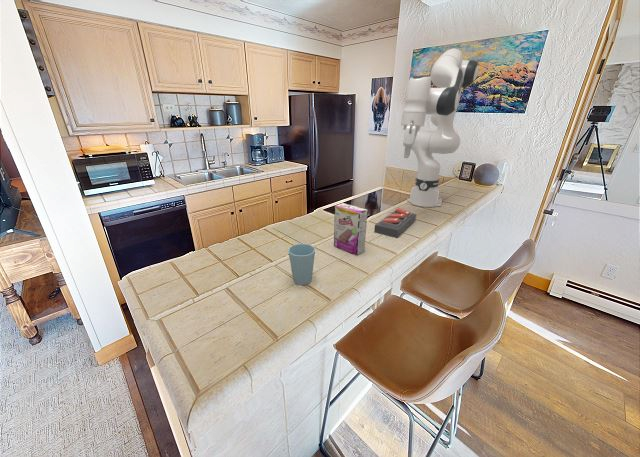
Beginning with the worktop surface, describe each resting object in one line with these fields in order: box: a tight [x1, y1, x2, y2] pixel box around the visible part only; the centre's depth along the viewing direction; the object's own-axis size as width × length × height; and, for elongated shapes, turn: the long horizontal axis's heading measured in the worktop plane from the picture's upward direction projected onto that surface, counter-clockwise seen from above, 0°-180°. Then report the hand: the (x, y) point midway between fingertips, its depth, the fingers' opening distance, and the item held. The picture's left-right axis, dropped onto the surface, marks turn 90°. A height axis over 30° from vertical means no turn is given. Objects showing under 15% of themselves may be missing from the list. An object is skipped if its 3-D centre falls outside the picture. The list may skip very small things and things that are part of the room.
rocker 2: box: [389, 213, 405, 218], centre depth 118 cm, size 3×6×1 cm, turn 54°
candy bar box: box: [333, 202, 369, 256], centre depth 96 cm, size 11×5×16 cm, turn 47°
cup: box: [287, 243, 316, 286], centre depth 78 cm, size 8×8×10 cm
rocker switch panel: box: [373, 210, 417, 239], centre depth 120 cm, size 28×10×4 cm, turn 144°
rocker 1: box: [383, 218, 399, 223], centre depth 113 cm, size 3×6×1 cm, turn 54°
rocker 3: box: [394, 207, 411, 215], centre depth 123 cm, size 3×6×1 cm, turn 54°
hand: (406, 157), depth 110 cm, fingers open, 8 cm apart
